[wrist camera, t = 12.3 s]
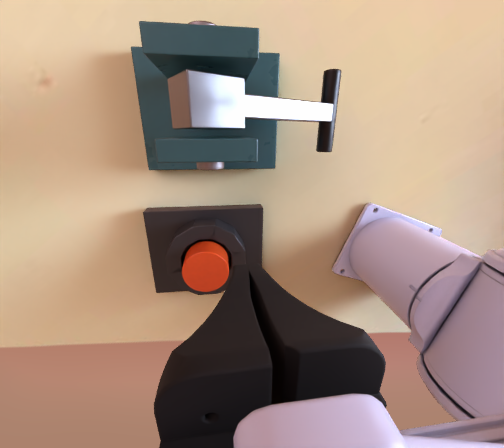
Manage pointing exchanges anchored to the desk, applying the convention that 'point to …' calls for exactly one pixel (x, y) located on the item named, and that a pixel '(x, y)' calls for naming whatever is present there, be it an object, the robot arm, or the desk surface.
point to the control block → (201, 239)
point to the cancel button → (205, 266)
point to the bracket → (209, 60)
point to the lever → (247, 104)
